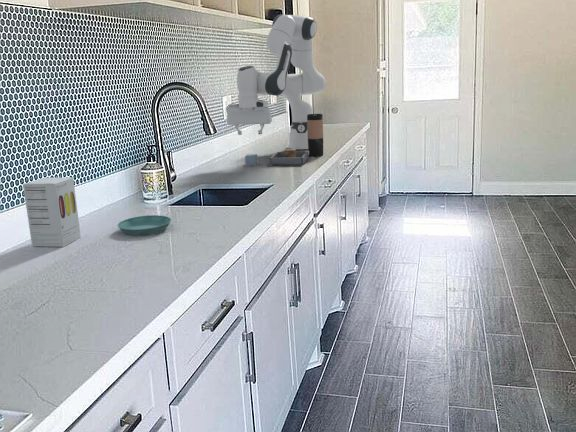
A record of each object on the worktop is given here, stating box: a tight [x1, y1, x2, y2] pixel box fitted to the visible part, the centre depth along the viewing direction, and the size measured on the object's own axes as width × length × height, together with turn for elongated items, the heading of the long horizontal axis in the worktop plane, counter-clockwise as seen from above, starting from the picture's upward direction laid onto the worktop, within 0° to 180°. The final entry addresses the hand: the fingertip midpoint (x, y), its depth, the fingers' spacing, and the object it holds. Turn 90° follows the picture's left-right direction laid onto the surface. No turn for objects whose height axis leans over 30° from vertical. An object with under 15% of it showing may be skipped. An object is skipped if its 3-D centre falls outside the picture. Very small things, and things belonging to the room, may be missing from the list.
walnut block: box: [284, 148, 297, 158], centre depth 274 cm, size 4×4×4 cm
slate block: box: [244, 153, 258, 166], centre depth 269 cm, size 4×4×4 cm
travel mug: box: [307, 113, 324, 158], centre depth 285 cm, size 8×8×20 cm
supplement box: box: [22, 176, 82, 248], centre depth 155 cm, size 10×9×17 cm
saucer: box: [116, 214, 172, 236], centre depth 165 cm, size 15×15×3 cm
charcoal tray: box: [269, 150, 309, 167], centre depth 271 cm, size 19×15×4 cm
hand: (250, 134), depth 265 cm, fingers open, 8 cm apart
